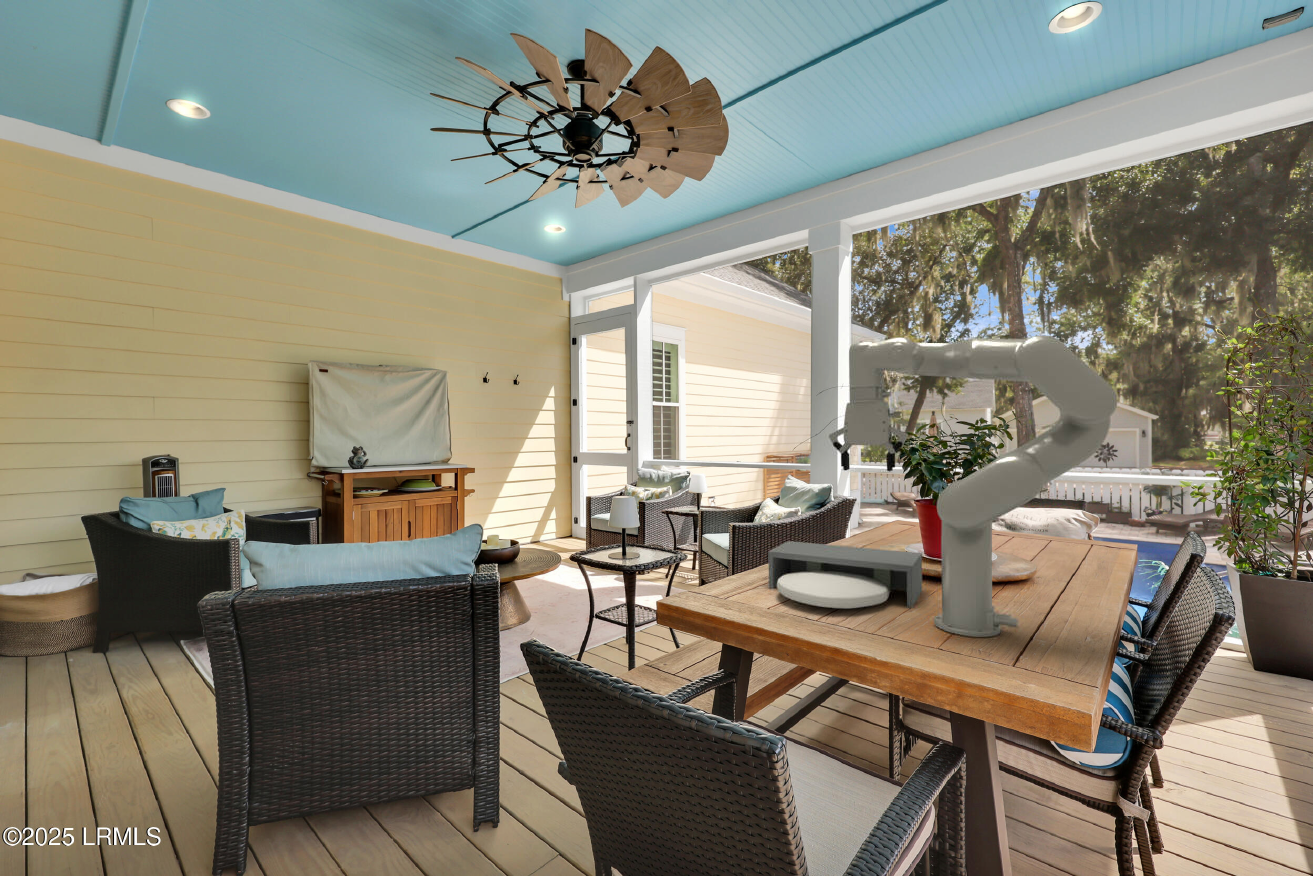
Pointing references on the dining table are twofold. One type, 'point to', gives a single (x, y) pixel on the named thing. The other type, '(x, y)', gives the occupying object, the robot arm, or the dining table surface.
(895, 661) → the dining table surface
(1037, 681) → the dining table surface
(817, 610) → the dining table surface
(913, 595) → the shelf
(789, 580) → the plate
